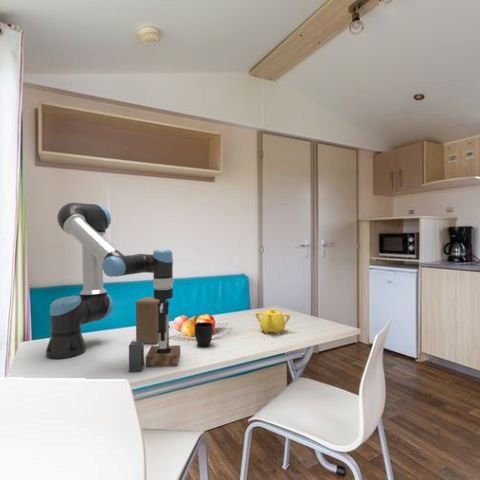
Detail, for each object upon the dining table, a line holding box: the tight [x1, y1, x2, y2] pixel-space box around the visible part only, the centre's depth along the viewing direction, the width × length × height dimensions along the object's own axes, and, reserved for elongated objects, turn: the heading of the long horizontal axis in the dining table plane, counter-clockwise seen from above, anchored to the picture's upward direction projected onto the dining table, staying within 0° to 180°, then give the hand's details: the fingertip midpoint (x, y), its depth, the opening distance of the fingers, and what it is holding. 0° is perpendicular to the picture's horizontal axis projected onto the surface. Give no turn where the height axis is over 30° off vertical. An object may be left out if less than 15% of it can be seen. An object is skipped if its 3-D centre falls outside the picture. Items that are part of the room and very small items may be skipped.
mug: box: [194, 321, 214, 348], centre depth 155 cm, size 8×12×10 cm
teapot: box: [255, 308, 291, 336], centre depth 174 cm, size 14×14×12 cm
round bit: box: [159, 314, 170, 353], centre depth 135 cm, size 4×4×16 cm
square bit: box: [128, 340, 145, 373], centre depth 126 cm, size 4×4×10 cm
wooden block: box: [135, 296, 160, 345], centre depth 160 cm, size 10×10×20 cm
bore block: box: [145, 344, 181, 368], centre depth 135 cm, size 12×12×4 cm
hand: (163, 346), depth 135 cm, fingers closed on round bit, 4 cm apart
